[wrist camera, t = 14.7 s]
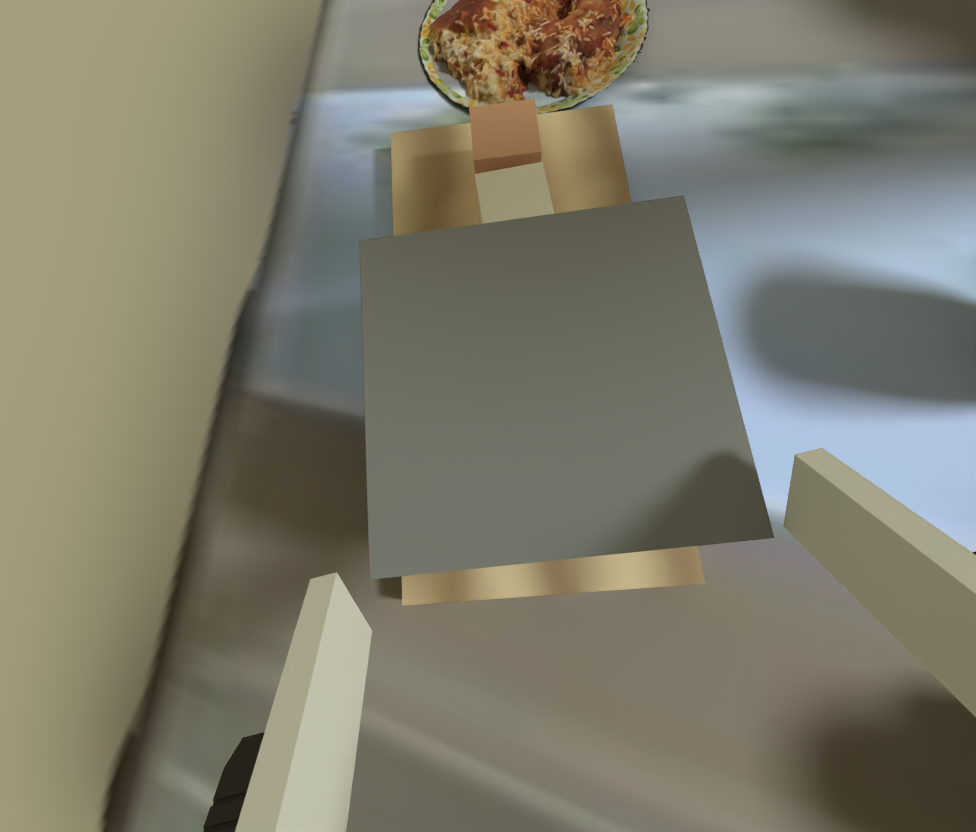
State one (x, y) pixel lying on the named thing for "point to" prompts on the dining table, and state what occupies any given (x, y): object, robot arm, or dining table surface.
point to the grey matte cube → (548, 394)
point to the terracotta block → (504, 135)
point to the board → (454, 203)
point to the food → (532, 47)
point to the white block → (513, 193)
